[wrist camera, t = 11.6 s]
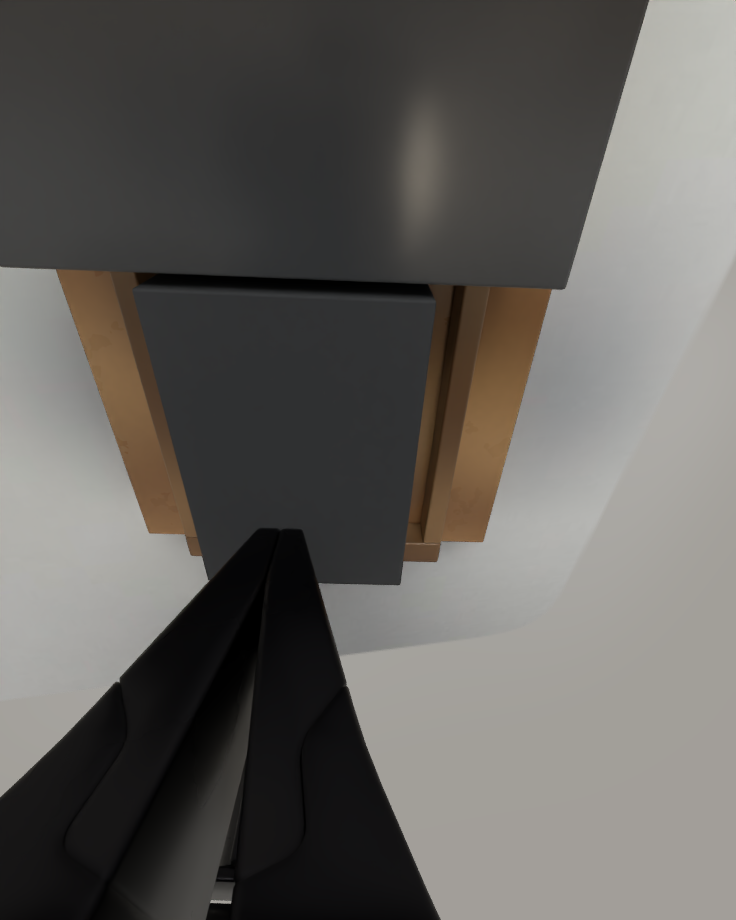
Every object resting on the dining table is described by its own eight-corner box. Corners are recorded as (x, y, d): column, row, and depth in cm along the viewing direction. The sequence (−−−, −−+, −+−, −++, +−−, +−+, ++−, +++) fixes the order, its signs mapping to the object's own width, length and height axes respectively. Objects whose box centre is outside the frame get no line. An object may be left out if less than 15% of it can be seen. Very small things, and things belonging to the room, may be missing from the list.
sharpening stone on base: (475, 514, 17) (504, 614, 13) (164, 505, 17) (107, 605, 13) (691, -372, 7) (1106, -1041, 3) (-127, -435, 6) (-825, -1267, 3)
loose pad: (395, 514, 15) (400, 586, 12) (234, 510, 15) (207, 581, 12) (420, 265, 10) (437, 301, 8) (186, 255, 10) (129, 288, 8)
